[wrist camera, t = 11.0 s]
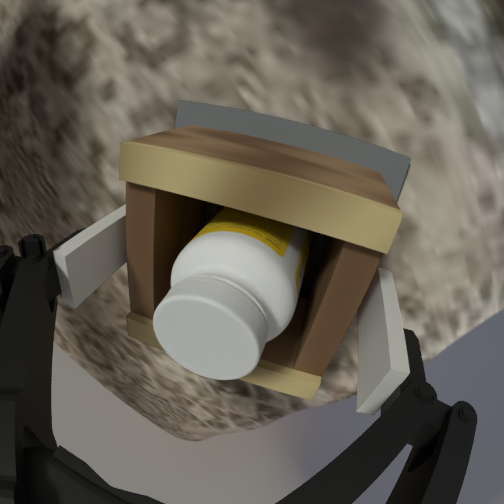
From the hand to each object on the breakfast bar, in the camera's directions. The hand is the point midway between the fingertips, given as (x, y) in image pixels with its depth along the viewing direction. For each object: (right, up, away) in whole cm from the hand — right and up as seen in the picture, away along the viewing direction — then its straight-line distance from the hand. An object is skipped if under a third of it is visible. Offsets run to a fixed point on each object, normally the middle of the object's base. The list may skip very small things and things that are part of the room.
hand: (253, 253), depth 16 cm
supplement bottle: (+1, +2, +3) cm, 3 cm away
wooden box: (+1, +1, +2) cm, 3 cm away
